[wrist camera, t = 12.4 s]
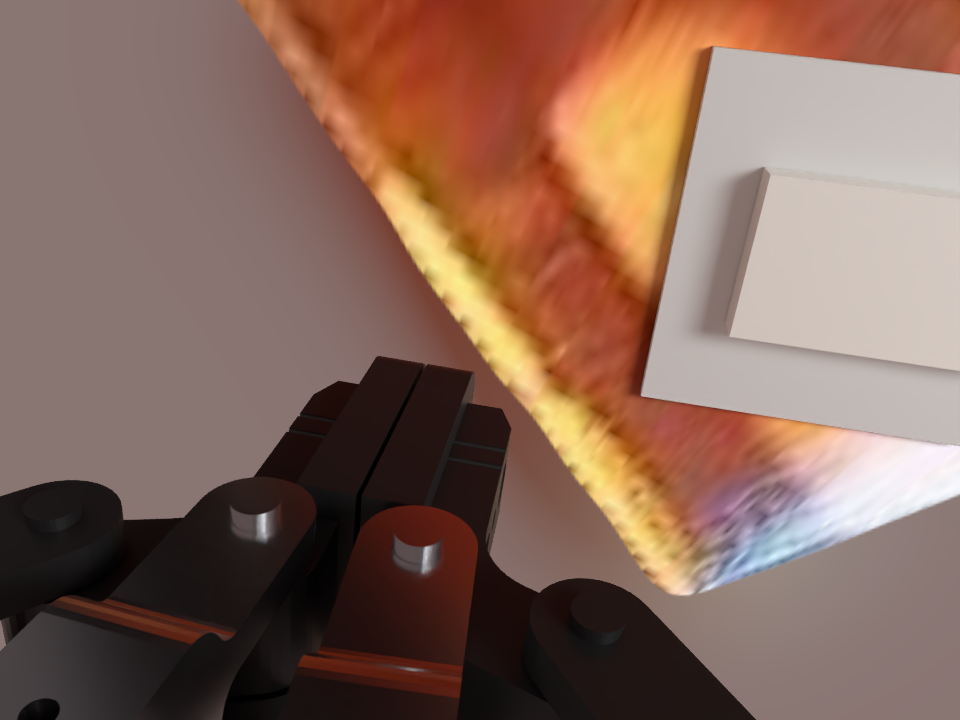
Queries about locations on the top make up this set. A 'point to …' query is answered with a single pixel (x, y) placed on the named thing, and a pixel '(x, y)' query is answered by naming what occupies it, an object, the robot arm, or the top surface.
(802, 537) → the top surface
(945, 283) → the tile
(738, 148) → the mat
